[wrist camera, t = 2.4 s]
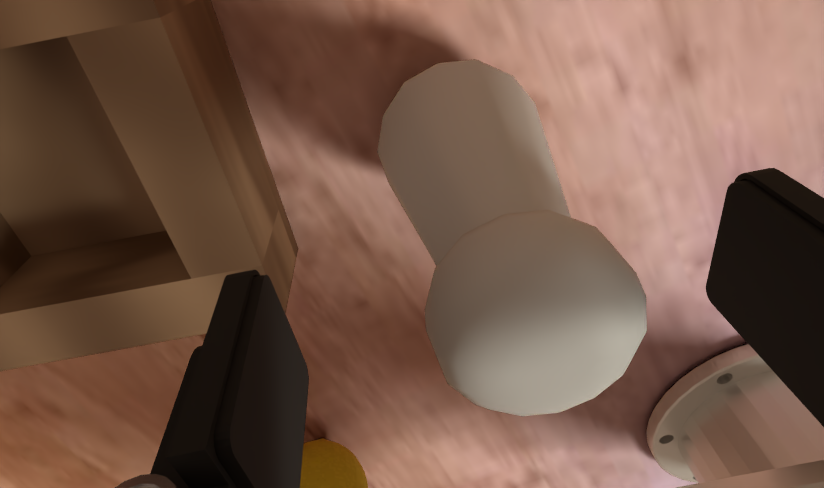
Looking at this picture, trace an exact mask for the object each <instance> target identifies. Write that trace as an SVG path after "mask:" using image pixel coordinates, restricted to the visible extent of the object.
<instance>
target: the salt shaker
mask: <svg viewBox="0 0 824 488" xmlns="http://www.w3.org/2000/svg"><path fill="white" fill-rule="evenodd" d="M377 152H378V155H379V158H380V161H381V163H382V166H383V169H384V171H385V174H386V177H387V179H388V182H389V184H390V186H391V188H392V190H393V191H394V193H395V195H396V196H397V198H398V200H399V202H400V203H401V205H402V207H403V208H404V210H405V212H406V214H407V215H408V217H409V219H410V220H411V222H412V224H413V226H414V227H415V229H416V231H417V233H418V234H419V236H420V238H421V239H422V241H423V243H424V245H425V246H426V248H427V250H428V251H429V253H430V255H431V257H432V258H433V260H434V262H435V264H436V269H435V271H434V274H433V278H432V282H431V286H430V290H429V294H428V298H427V302H426V306H425V321H426V331H427V334H428V336H429V339H430V341H431V344H432V346H433V349H434V351H435V354H436V356H437V359H438V361H439V364H440V366H441V369H442V371H443V374H444V376H445V378H446V381H447V383H448V384H449V385H450V386H451V387H453V388H454V389H455V390H457V391H458V392H459V393H461V394H462V395H463V396H465V397H466V398H467V399H469V400H470V401H471V402H472V403H474V404H475V405H478V406H481V407H484V408H486V409H489V410H494V411H499V412H504V413H509V414H514V415H518V416H531V415H541V414H551V413H560V412H562V411H564V410H567V409H569V408H572V407H574V406H576V405H579V404H581V403H584V402H586V401H588V400H591V399H593V398H595V397H596V396H598V395H599V394H600V393H601V392H603V391H604V390H605V389H606V388H608V387H609V386H610V385H611V384H613V383H614V382H615V381H616V380H617V379H619V378H620V377H621V376H622V375H623V374H624V372H625V371H626V369H627V367H628V366H629V364H630V362H631V360H632V358H633V356H634V354H635V352H636V351H637V349H638V347H639V345H640V343H641V341H642V339H643V337H644V335H645V334H646V332H647V321H646V295H645V293H644V291H643V288H642V286H641V284H640V281H639V279H638V277H637V274H636V272H635V271H634V270H633V269H632V268H631V266H630V265H629V264H628V263H627V262H626V260H625V259H624V258H623V257H622V256H621V255H620V253H619V252H618V251H617V250H616V249H615V248H614V246H613V245H612V244H611V243H610V242H609V241H608V240H607V239H606V237H605V236H604V235H603V234H602V233H601V232H600V231H599V230H598V229H597V228H596V227H594V226H592V225H589V224H587V223H584V222H581V221H579V220H576V219H573V218H571V216H570V213H569V210H568V207H567V203H566V200H565V197H564V194H563V191H562V188H561V184H560V181H559V178H558V175H557V172H556V168H555V165H554V162H553V159H552V156H551V153H550V149H549V146H548V143H547V140H546V137H545V133H544V130H543V127H542V124H541V121H540V118H539V114H538V111H537V108H536V105H535V103H534V101H533V100H532V99H531V98H530V96H529V95H528V94H527V93H526V91H525V90H524V89H523V88H522V87H521V85H520V84H519V83H518V82H517V80H516V79H515V78H514V77H513V76H512V75H510V74H508V73H505V72H503V71H501V70H499V69H497V68H494V67H492V66H490V65H488V64H485V63H483V62H481V61H479V60H475V59H473V60H464V61H454V62H445V63H437V64H435V65H434V66H432V67H430V68H428V69H426V70H425V71H423V72H421V73H419V74H418V75H416V76H414V77H412V78H410V79H409V80H407V81H405V82H404V83H403V85H402V86H401V88H400V90H399V91H398V93H397V94H396V96H395V97H394V99H393V100H392V102H391V104H390V105H389V107H388V108H387V110H386V111H385V113H384V115H383V118H382V125H381V131H380V138H379V144H378V151H377Z"/></svg>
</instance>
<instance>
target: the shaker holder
mask: <svg viewBox="0 0 824 488" xmlns="http://www.w3.org/2000/svg"><path fill="white" fill-rule="evenodd" d="M297 252H298V247H297V244H296V241H295V238H294V235H293V232H292V230H291V227H290V224H289V221H288V218H287V216H286V213H285V210H284V207H283V204H282V201H281V199H280V196H279V193H278V190H277V187H276V184H275V182H274V179H273V176H272V173H271V170H270V167H269V165H268V162H267V159H266V156H265V153H264V150H263V148H262V145H261V142H260V139H259V136H258V133H257V131H256V128H255V125H254V122H253V119H252V116H251V114H250V111H249V108H248V105H247V102H246V99H245V97H244V94H243V91H242V88H241V85H240V82H239V80H238V77H237V74H236V71H235V68H234V66H233V63H232V60H231V57H230V54H229V51H228V49H227V46H226V43H225V40H224V37H223V34H222V32H221V29H220V26H219V23H218V20H217V17H216V15H215V12H214V9H213V6H212V3H211V0H0V371H5V370H11V369H16V368H22V367H27V366H33V365H38V364H43V363H49V362H54V361H60V360H65V359H71V358H76V357H82V356H87V355H93V354H98V353H104V352H109V351H114V350H120V349H125V348H131V347H136V346H142V345H147V344H153V343H158V342H164V341H169V340H175V339H180V338H186V337H191V336H196V335H202V334H206V333H207V330H208V327H209V324H210V321H211V318H212V315H213V312H214V309H215V306H216V303H217V300H218V297H219V294H220V291H221V288H222V285H223V282H224V279H225V277H226V276H227V275H229V274H234V273H239V272H244V271H249V270H257V271H258V272H259V274H260V276H261V275H268V276H269V277H270V279H271V281H272V284H273V286H274V288H275V291H276V293H277V296H278V298H279V300H280V303H281V305H282V308H283V310H284V312H286V307H287V302H288V297H289V292H290V287H291V282H292V277H293V272H294V267H295V262H296V257H297Z"/></svg>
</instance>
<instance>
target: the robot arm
mask: <svg viewBox="0 0 824 488" xmlns="http://www.w3.org/2000/svg"><path fill="white" fill-rule="evenodd" d="M706 292H707V296H708V298H709V300H710V302H711V303H712V304H713V305H714V306H715V307H716V309H717V310H718V311H719V312H720V313H721V314H722V315H723V316H724V317H725V319H726V320H727V321H728V322H729V323H730V324H731V325H732V326H733V327H734V329H735V330H736V331H737V332H738V333H739V334H740V335H741V336H742V337H743V338H744V340H745V341H746V342H747V343H748V344H746V345H743V346H740V347H737V348H734V349H732V350H729V351H727V352H725V353H722V354H720V355H718V356H715V357H714V358H712V359H710V360H708V361H706V362H705V363H703V364H701V365H699V366H698V367H696V368H695V369H693V370H692V371H690V372H689V373H688V374H686V375H685V376H684V377H682V378H681V379H680V380H678V381H677V382H676V383H675V384H674V385H673V386H672V387H671V388H670V389H669V390H668V391H667V392H666V393H665V394H664V396H663V397H662V398H661V400H660V401H659V402H658V404H657V405H656V406H655V408H654V410H653V413H652V415H651V417H650V419H649V421H648V426H647V431H646V435H647V444H648V446H649V448H650V450H651V452H652V454H653V456H654V458H655V460H656V461H657V463H658V464H659V465H660V467H661V468H662V469H663V470H665V471H666V472H667V473H669V474H670V475H673V476H675V477H677V478H680V479H682V480H687V481H691V482H696V483H698V484H693V485H687V486H682V487H677V488H824V198H823V197H821V196H819V195H818V194H816V193H815V192H813V191H811V190H810V189H808V188H807V187H805V186H803V185H802V184H800V183H799V182H797V181H795V180H794V179H792V178H791V177H789V176H787V175H786V174H784V173H783V172H781V171H779V170H777V169H775V168H768V169H763V170H758V171H753V172H748V173H743V174H741V175H739V176H738V177H737V178H736V179H735V182H734V183H732V184H730V186H729V187H728V189H727V193H726V198H725V202H724V207H723V211H722V216H721V220H720V225H719V229H718V234H717V238H716V243H715V247H714V252H713V257H712V261H711V266H710V270H709V275H708V279H707V284H706ZM308 383H309V376H308V369H307V365H306V362H305V360H304V358H303V355H302V353H301V350H300V348H299V346H298V343H297V341H296V339H295V336H294V334H293V331H292V329H291V327H290V324H289V322H288V319H287V317H286V315H285V312H284V310H283V308H282V305H281V303H280V300H279V298H278V296H277V293H276V291H275V288H274V286H273V284H272V281H271V279H270V277H269V276H268V275H261V276H260V274H259V272H258V271H257V270H249V271H244V272H239V273H234V274H229V275H227V276H226V277H225V279H224V282H223V285H222V288H221V291H220V294H219V297H218V300H217V303H216V306H215V309H214V312H213V315H212V318H211V321H210V324H209V327H208V330H207V333H206V336H205V339H204V343H203V346H200V347H197V348H196V349H195V350H194V352H193V354H192V356H191V358H190V361H189V364H188V367H187V369H186V372H185V375H184V378H183V381H182V384H181V387H180V390H179V393H178V395H177V398H176V401H175V404H174V407H173V410H172V413H171V416H170V419H169V421H168V424H167V427H166V430H165V433H164V436H163V439H162V442H161V445H160V447H159V450H158V453H157V456H156V459H155V462H154V465H153V468H152V471H151V473H150V474H147V475H140V476H137V477H135V478H132V479H129V480H127V481H124V482H123V483H121V484H120V485H118V486H117V487H115V488H300V480H301V468H302V455H303V443H304V431H305V419H306V407H307V395H308Z"/></svg>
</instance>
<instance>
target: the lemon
mask: <svg viewBox="0 0 824 488" xmlns="http://www.w3.org/2000/svg"><path fill="white" fill-rule="evenodd" d="M300 488H368V484H367V479H366V476H365V472H364V470H363V468H362V466H361V464H360V463H359V461H358V459H357V458H356V456H355V455H354V454H353V453H352V452H351V451H350V450H348V449H347V448H346V447H344V446H343V445H341V444H339V443H336V442H333V441H328V440H326V439H324V438H321V439H318V440H314V441H310V442H306V443H304V444H303V455H302V468H301V480H300Z"/></svg>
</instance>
